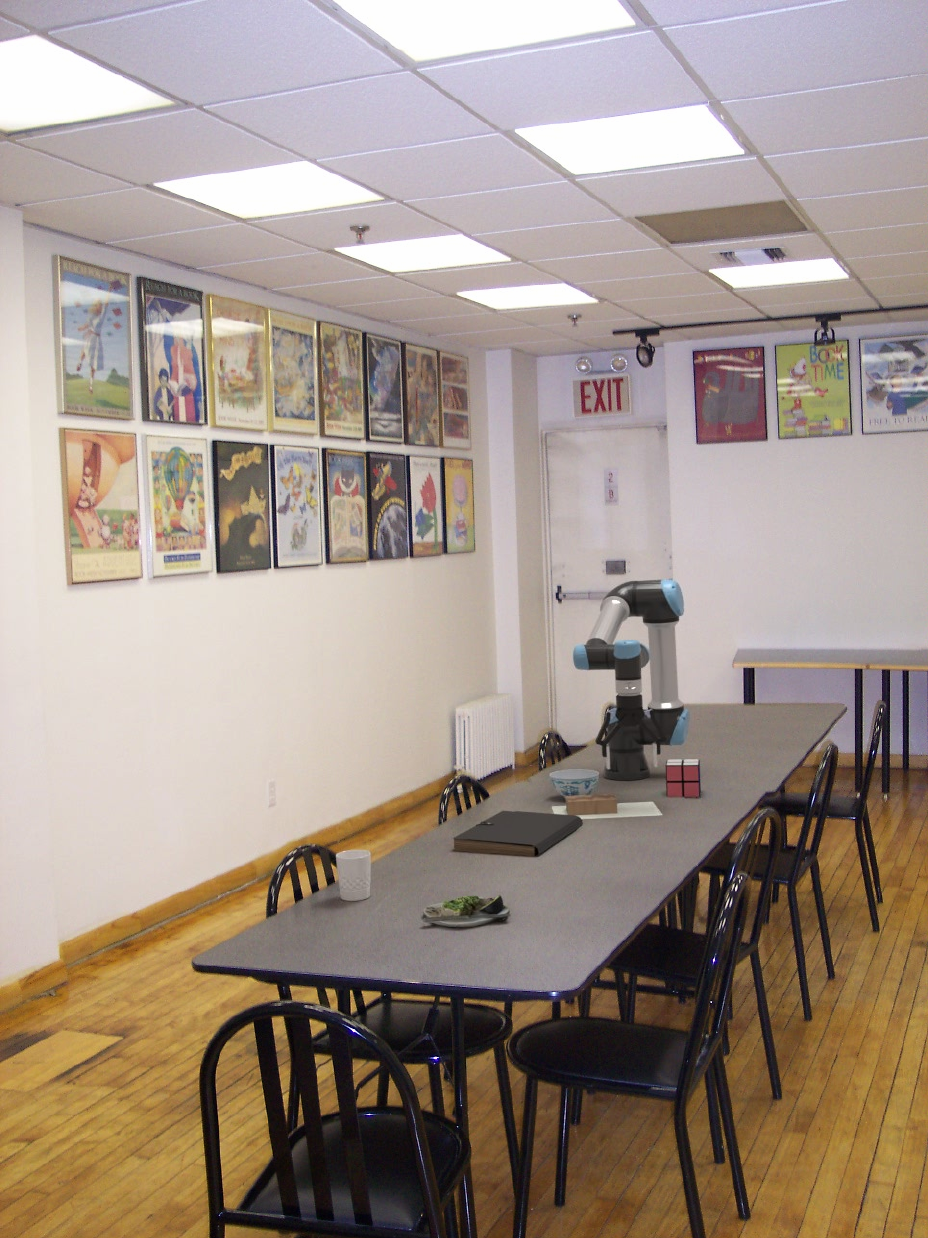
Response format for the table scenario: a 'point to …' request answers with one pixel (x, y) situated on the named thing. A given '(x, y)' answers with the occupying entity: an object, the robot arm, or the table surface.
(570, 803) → the walnut block
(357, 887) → the white cup
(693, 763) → the puzzle cube
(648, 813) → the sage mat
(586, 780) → the chinaware
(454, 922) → the salad plate
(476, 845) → the file folder
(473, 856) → the table surface
